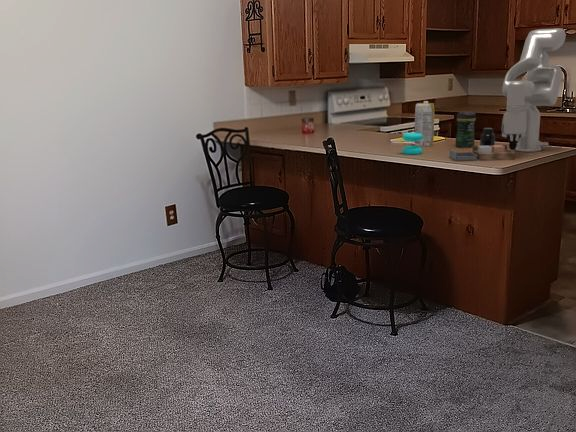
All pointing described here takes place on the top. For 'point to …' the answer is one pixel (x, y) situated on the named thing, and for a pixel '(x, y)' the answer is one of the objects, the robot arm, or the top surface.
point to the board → (494, 154)
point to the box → (463, 156)
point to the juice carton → (424, 123)
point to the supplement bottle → (487, 137)
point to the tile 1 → (484, 149)
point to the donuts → (412, 137)
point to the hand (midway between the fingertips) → (512, 149)
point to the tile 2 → (498, 148)
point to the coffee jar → (465, 129)
